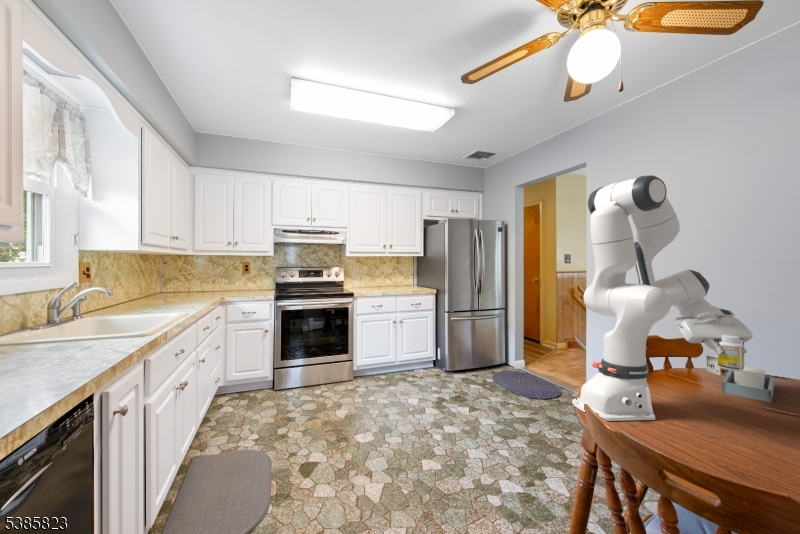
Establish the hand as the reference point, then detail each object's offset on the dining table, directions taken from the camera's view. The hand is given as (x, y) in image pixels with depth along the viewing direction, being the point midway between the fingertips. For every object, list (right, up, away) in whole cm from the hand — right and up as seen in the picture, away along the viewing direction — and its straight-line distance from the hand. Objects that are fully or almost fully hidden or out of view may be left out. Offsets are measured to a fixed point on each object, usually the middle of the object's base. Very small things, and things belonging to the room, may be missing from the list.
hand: (732, 353), depth 100 cm
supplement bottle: (0, -5, +1) cm, 5 cm away
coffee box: (+27, -17, +29) cm, 43 cm away
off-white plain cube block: (+21, -16, +14) cm, 30 cm away
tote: (+17, -17, +12) cm, 27 cm away
